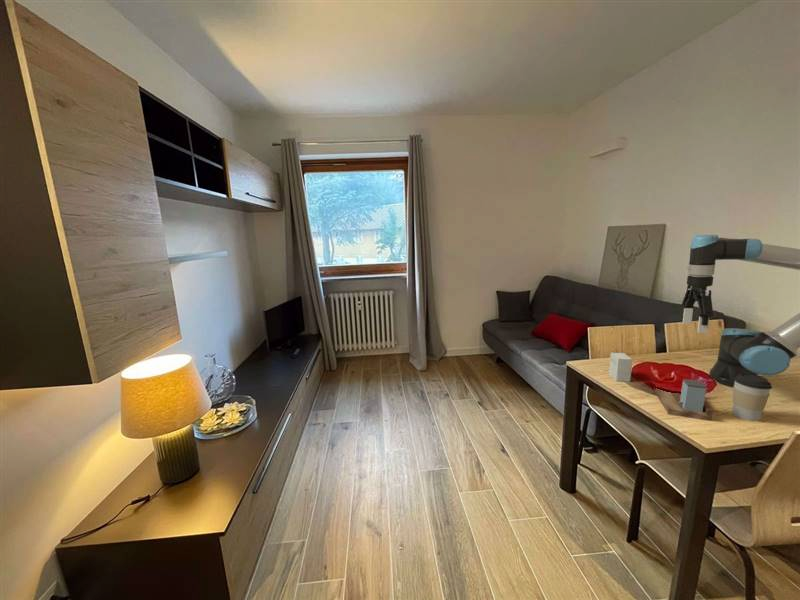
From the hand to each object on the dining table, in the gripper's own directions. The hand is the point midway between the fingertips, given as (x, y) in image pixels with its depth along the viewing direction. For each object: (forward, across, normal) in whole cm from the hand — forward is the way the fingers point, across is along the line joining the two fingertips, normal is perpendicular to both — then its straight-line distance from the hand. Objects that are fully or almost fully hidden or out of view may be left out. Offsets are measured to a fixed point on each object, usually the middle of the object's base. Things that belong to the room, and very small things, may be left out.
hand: (694, 328), depth 133 cm
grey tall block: (+24, +23, -7) cm, 34 cm away
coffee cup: (+26, +20, +10) cm, 34 cm away
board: (+25, +17, -8) cm, 32 cm away
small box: (+25, -2, -24) cm, 35 cm away
